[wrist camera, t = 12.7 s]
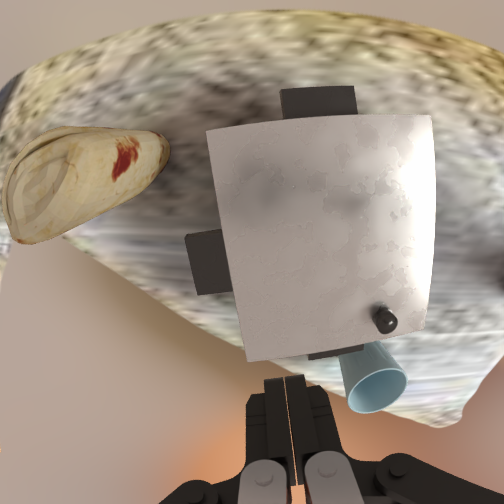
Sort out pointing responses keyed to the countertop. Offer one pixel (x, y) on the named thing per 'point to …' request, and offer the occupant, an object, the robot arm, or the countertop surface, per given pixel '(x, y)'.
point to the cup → (372, 378)
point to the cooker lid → (321, 230)
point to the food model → (77, 177)
